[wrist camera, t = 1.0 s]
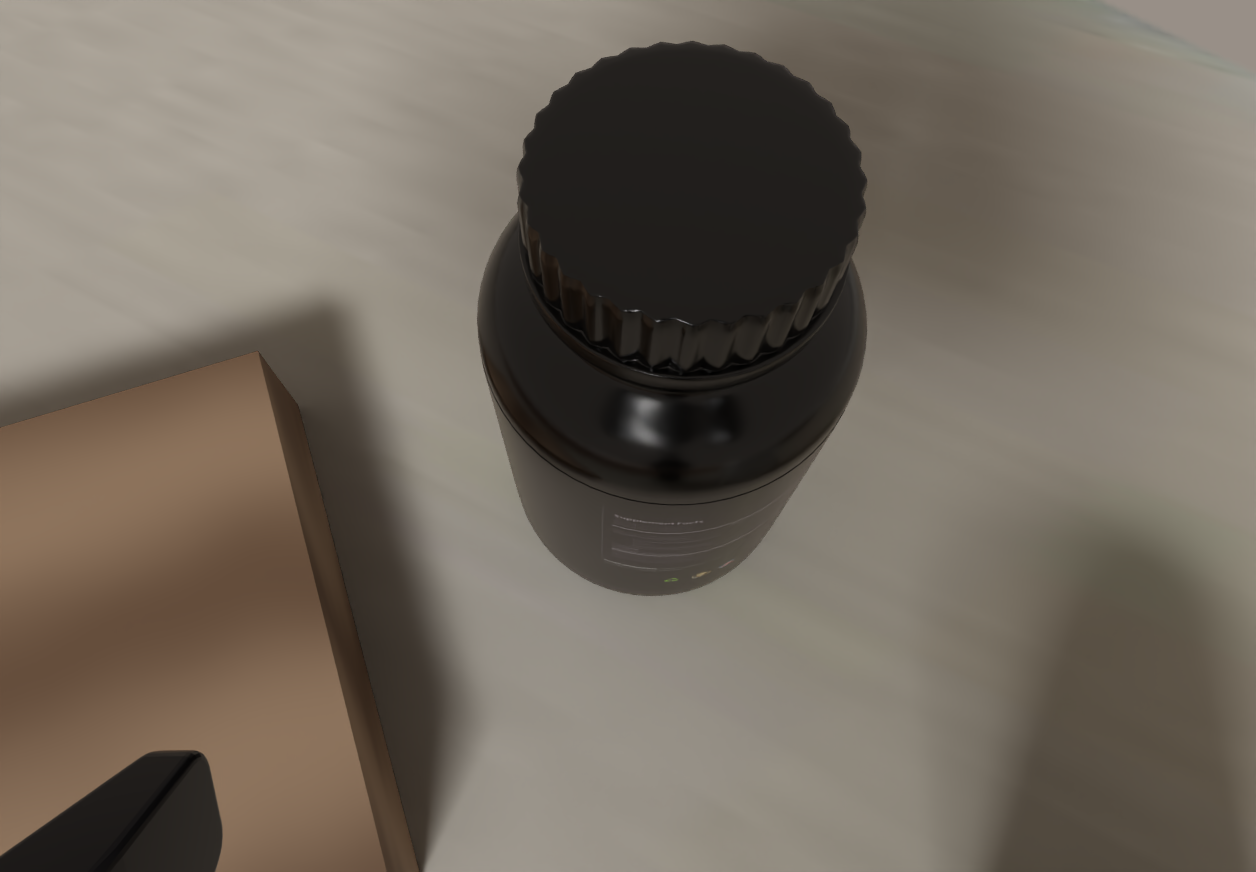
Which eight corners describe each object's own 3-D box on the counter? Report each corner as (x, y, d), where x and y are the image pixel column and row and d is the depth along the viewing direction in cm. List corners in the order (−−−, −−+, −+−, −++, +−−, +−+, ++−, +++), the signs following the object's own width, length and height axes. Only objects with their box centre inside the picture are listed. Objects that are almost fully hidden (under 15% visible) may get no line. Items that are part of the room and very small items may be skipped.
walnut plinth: (421, 878, 19) (391, 890, 16) (-183, 1126, 17) (-334, 1187, 14) (298, 405, 23) (257, 351, 21) (-197, 558, 21) (-315, 521, 19)
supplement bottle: (486, 396, 24) (388, 32, 13) (724, 330, 25) (826, -61, 14) (559, 643, 21) (517, 459, 10) (820, 558, 22) (1041, 307, 11)
